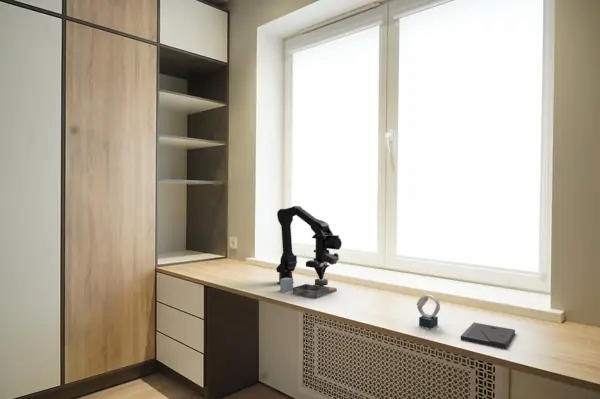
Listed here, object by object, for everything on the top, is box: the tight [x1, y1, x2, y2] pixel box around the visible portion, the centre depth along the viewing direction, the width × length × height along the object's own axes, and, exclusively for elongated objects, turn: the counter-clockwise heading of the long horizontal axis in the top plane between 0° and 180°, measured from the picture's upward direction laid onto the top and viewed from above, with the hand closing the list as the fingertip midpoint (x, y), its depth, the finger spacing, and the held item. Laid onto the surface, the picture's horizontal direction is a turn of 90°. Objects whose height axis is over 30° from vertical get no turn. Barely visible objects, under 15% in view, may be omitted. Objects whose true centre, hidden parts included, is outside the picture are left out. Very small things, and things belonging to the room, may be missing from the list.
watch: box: [416, 294, 441, 329], centre depth 146 cm, size 6×8×11 cm
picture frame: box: [460, 321, 516, 350], centre depth 135 cm, size 13×2×18 cm
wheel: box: [314, 278, 329, 286], centre depth 198 cm, size 6×6×2 cm
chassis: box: [292, 283, 338, 299], centre depth 194 cm, size 14×18×3 cm
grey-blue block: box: [279, 277, 294, 294], centre depth 197 cm, size 4×5×6 cm
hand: (321, 279), depth 198 cm, fingers closed, pressing on wheel
